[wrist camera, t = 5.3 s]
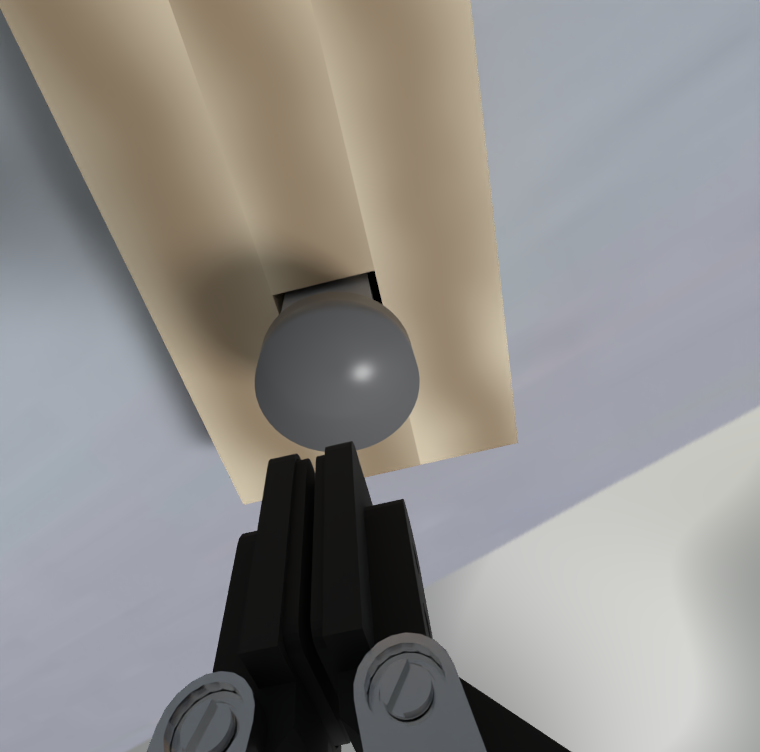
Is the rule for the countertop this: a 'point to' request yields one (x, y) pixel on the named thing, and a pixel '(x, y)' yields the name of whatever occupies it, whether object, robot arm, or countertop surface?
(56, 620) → the countertop surface
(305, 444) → the gray knob
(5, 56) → the countertop surface
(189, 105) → the control block
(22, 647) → the countertop surface
